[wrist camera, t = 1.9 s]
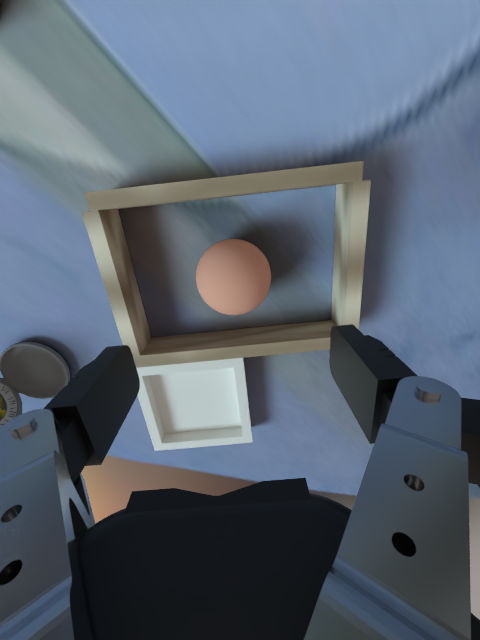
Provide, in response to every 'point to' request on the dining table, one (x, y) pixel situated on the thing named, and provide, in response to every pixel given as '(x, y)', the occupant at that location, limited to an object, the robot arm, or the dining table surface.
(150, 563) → the robot arm
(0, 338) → the dining table surface
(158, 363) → the beige rectangular frame
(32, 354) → the pocket watch
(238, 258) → the ball
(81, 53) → the dining table surface
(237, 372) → the dish
